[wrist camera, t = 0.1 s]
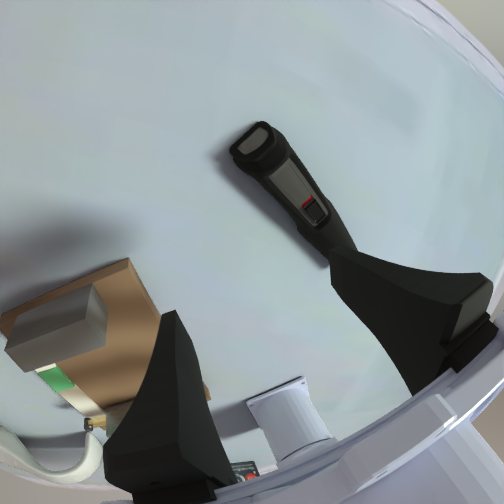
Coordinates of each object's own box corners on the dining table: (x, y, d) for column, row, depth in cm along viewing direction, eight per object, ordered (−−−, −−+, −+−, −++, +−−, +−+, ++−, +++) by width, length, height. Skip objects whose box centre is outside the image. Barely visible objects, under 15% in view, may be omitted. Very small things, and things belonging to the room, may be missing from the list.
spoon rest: (-5, 447, 25) (-8, 480, 19) (-45, 406, 20) (-54, 444, 14) (111, 452, 32) (116, 494, 26) (79, 413, 27) (79, 465, 21)
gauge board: (208, 389, 30) (220, 429, 25) (103, 420, 28) (106, 459, 23) (128, 257, 20) (126, 302, 16) (1, 314, 18) (-17, 358, 14)
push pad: (168, 396, 26) (174, 425, 23) (88, 419, 25) (88, 445, 22) (163, 390, 26) (168, 420, 23) (81, 413, 24) (81, 440, 21)
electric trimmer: (328, 271, 28) (346, 289, 26) (222, 152, 20) (235, 160, 17) (355, 244, 28) (376, 260, 25) (262, 116, 19) (281, 119, 17)
